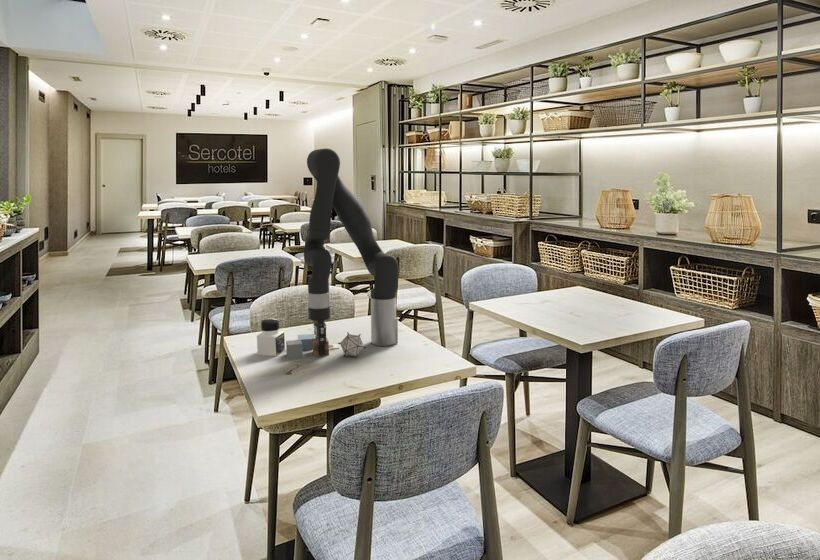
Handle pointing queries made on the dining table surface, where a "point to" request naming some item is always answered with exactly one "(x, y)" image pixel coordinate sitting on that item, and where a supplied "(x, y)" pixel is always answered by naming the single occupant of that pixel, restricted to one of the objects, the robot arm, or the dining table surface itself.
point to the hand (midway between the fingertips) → (320, 351)
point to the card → (333, 346)
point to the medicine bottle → (270, 338)
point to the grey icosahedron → (352, 345)
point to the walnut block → (315, 347)
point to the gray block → (294, 349)
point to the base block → (306, 341)
